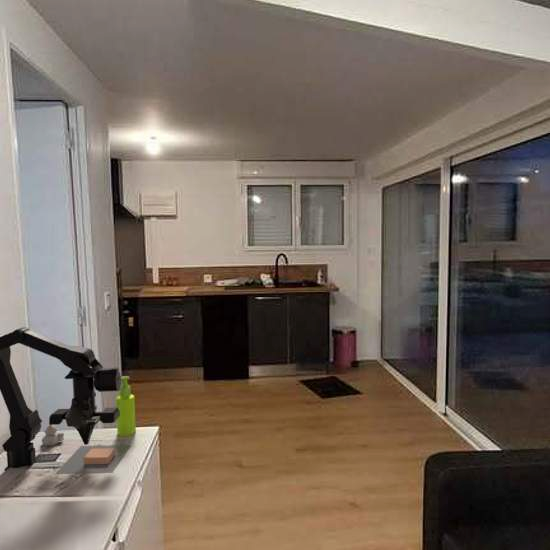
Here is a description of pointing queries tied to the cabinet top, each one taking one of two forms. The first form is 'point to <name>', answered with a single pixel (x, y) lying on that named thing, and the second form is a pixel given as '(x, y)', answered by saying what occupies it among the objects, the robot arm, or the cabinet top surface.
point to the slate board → (77, 464)
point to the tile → (99, 456)
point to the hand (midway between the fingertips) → (86, 444)
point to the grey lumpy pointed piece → (52, 436)
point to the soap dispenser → (126, 410)
